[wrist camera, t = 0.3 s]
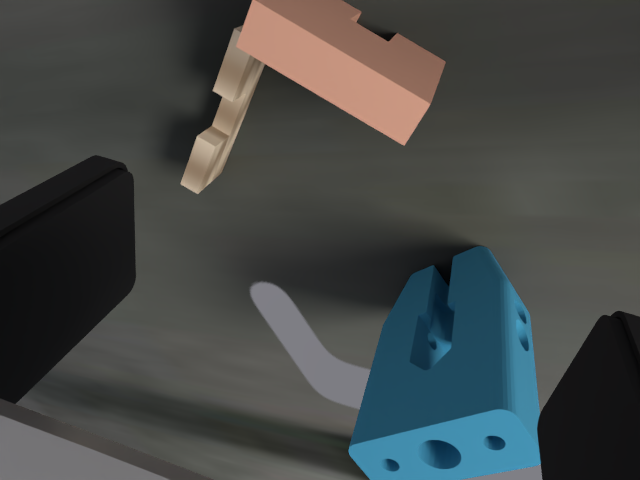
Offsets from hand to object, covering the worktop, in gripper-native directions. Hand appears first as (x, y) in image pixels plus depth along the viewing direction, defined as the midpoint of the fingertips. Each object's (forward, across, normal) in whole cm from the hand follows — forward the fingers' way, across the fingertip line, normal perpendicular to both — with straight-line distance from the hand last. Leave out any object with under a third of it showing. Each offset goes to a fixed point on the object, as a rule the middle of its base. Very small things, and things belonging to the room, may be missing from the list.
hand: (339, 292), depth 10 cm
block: (+35, -8, +21) cm, 41 cm away
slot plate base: (+35, +16, +9) cm, 39 cm away
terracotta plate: (+34, +6, +1) cm, 35 cm away
